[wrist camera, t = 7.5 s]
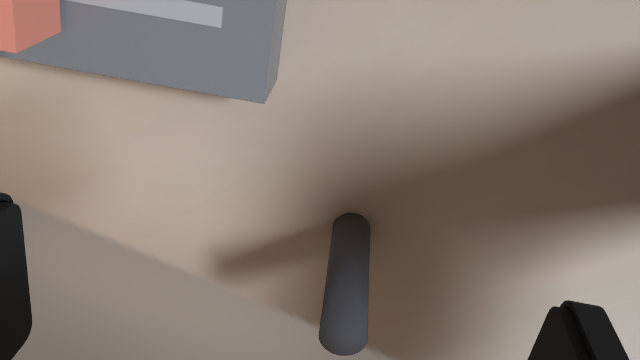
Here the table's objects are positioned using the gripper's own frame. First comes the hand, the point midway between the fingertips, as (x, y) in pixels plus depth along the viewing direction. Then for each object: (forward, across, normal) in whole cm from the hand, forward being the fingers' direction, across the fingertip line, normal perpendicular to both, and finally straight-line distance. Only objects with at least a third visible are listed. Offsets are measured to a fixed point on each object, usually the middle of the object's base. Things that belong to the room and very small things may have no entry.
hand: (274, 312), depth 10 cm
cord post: (+24, -2, +13) cm, 28 cm away
